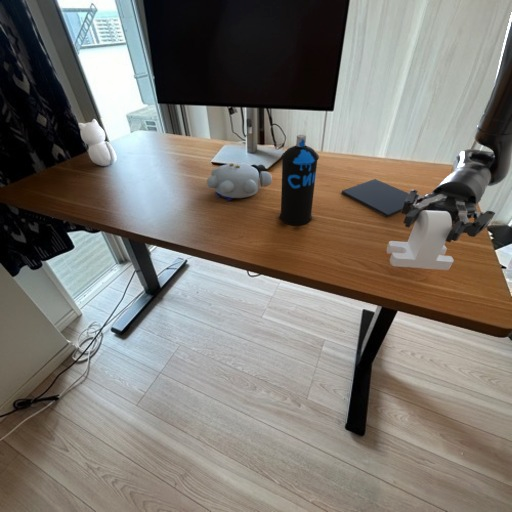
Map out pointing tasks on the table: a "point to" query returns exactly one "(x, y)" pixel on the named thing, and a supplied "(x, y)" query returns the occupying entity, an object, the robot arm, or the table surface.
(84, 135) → the cat figurine
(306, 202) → the aerosol can
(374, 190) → the felt mat
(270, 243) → the table surface
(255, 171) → the figurine
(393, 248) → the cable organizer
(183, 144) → the table surface
